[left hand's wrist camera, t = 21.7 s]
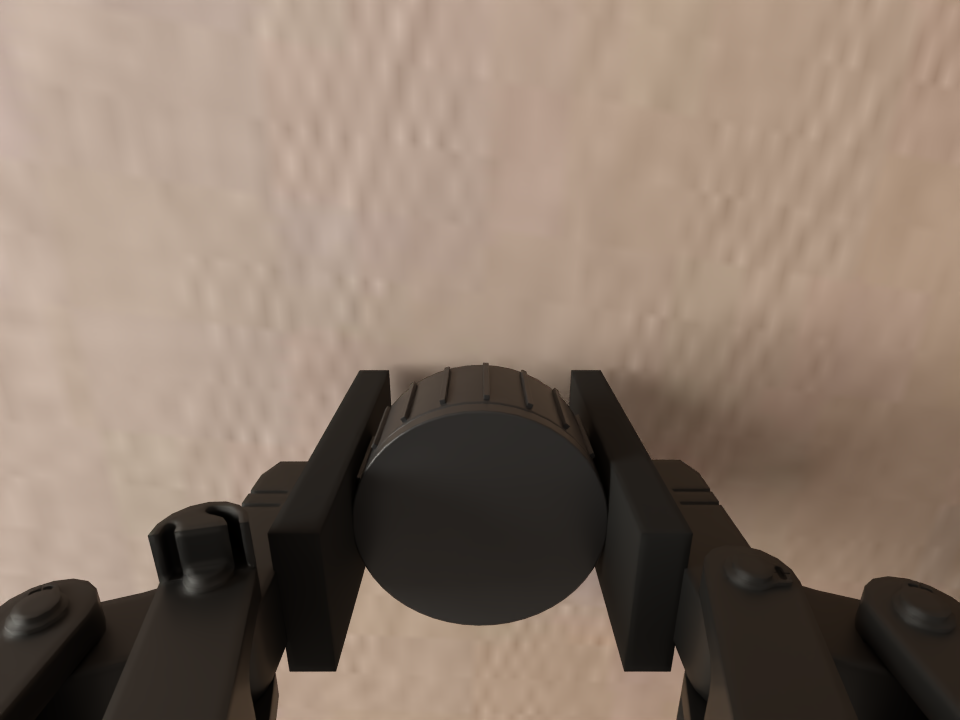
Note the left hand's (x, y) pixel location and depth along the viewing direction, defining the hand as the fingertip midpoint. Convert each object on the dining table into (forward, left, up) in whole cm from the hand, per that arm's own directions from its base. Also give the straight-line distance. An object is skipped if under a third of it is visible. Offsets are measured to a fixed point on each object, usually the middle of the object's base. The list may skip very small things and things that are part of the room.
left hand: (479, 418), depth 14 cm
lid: (0, 0, +4) cm, 4 cm away
